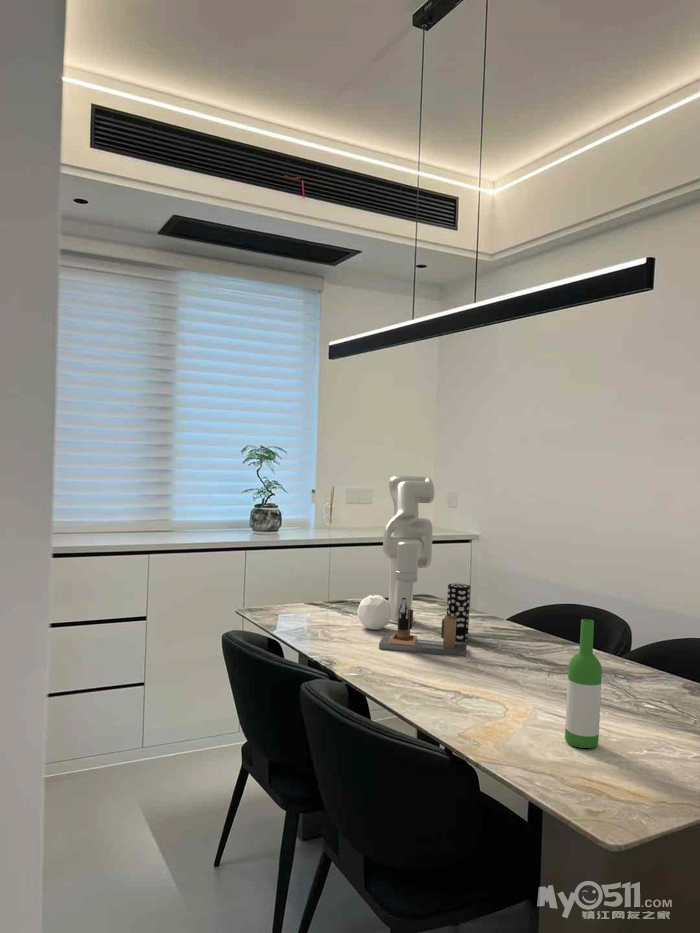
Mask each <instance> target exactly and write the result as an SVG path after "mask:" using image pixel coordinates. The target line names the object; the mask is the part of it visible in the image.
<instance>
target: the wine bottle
mask: <svg viewBox="0 0 700 933" xmlns="http://www.w3.org/2000/svg"><path fill="white" fill-rule="evenodd" d="M594 627H595V621H594V620H593V619H587V618H582V619H581V620H580V634H579V635H580V637H579V652H577V653H576V654H574V655H573V656H572V658H570V661H569V663H568V671H567V688H566V689H567V690H566V706H565V723H564V724H565V726H564V728H565V730H564V739H565V741H566V743H567V744H568V745H570V746H571V745H572V746H571V747H573V746H575V747H574V748H576V747H579V748H578V749H580V748H593V749H595V748H597V746H598V744H599V739H600V738H599V737H600V736H599V735H600V721H601V696H602V676H603V675H602V674H603V669H602V665H601V662H600V661H599V659H598V658H597V657H596V656H595V654H594V653H593V652H594V651H593V648H594ZM594 747H595V748H594Z"/></svg>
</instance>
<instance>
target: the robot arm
mask: <svg viewBox="0 0 700 933" xmlns="http://www.w3.org/2000/svg"><path fill="white" fill-rule="evenodd" d="M388 488H389V493H390V497H391V500H392V502H393V509H394V510H393V517H392V518H390V520H389V521H388V522H387V523H386V526H385V527H384V531H383V539H382V540H383V541H382V542H383V543H382V545H383V546H382V553H383V554H384V556H385V557H386V558H388V561H389V583H388V584H389V587H388V602H389V603H390V607H391V611H392V616H391V618H390V621H389V623H390V624H397V625H398V609H399V608H400V618H399V630H408V610H410V608H411V610H413V609H412V606H413V600H414V599H413V598H414V586H415V585H414V584H415V583H417V582H418V570H419V569H427V568H429V567H430V566H431V564H432V559H433V558H432V556H433V555H432V554H433V525H432V524H433V523H432V521H431V520H430V519H428V518H425V517H419V504H431V503H432V502H434V499H435V485H434V482H433V480H432V478H431V477H428V476H419V475H418V476H417V475H416V476H415V475H394V476H391V477H390V479H389V482H388ZM392 534H393V536H394V537H392ZM405 608H407V610H405ZM405 611H406V612H405ZM415 622H416V619H415V617H413V624H414V623H415Z"/></svg>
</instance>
